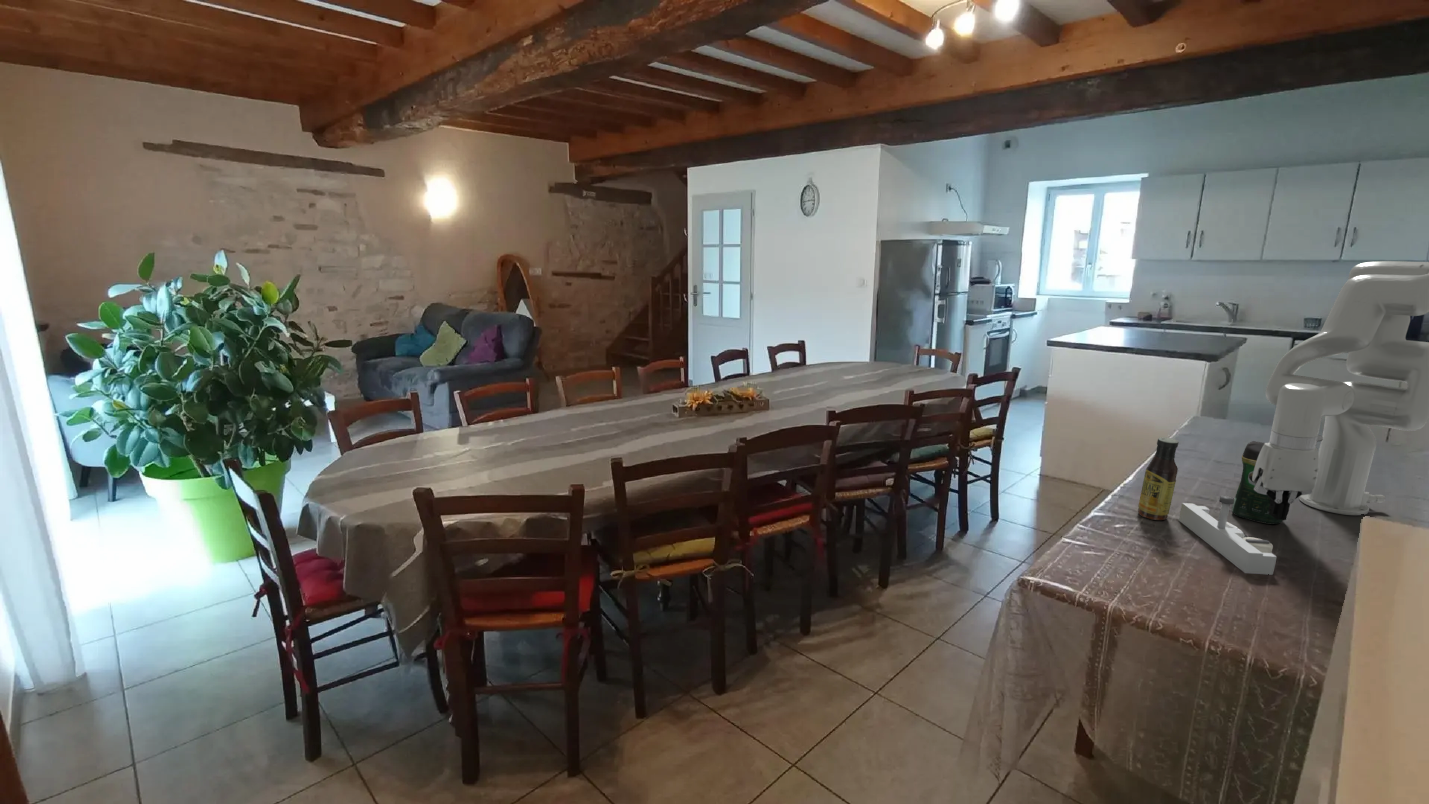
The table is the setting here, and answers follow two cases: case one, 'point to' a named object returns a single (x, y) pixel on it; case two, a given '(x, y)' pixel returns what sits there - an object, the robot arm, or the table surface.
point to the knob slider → (1260, 544)
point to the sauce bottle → (1159, 481)
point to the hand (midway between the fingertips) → (1277, 517)
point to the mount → (1226, 537)
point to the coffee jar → (1251, 490)
